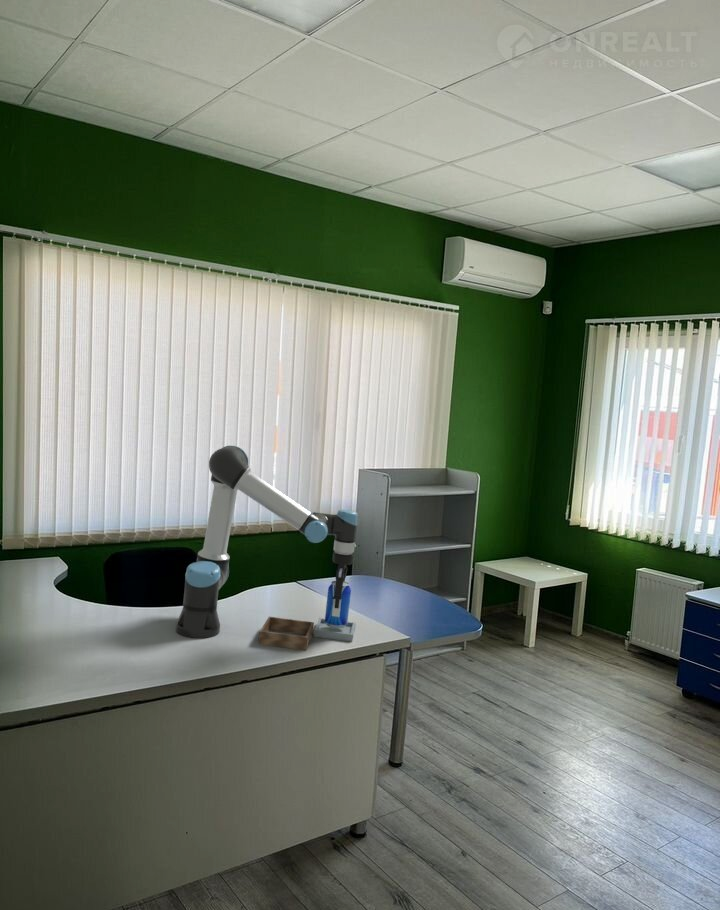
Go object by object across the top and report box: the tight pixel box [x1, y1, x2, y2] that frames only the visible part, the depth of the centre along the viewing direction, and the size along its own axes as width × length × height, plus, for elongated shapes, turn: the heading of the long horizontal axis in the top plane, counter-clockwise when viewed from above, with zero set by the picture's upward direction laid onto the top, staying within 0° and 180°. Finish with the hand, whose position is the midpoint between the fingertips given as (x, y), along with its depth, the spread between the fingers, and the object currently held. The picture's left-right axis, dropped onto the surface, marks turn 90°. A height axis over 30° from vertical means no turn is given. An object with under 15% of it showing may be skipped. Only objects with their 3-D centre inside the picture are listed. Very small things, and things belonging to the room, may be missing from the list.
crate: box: [258, 616, 315, 651], centre depth 254 cm, size 17×17×4 cm
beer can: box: [324, 580, 352, 628], centre depth 265 cm, size 8×8×16 cm
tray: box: [313, 617, 357, 643], centre depth 266 cm, size 14×14×2 cm
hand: (336, 612), depth 265 cm, fingers closed on beer can, 8 cm apart
